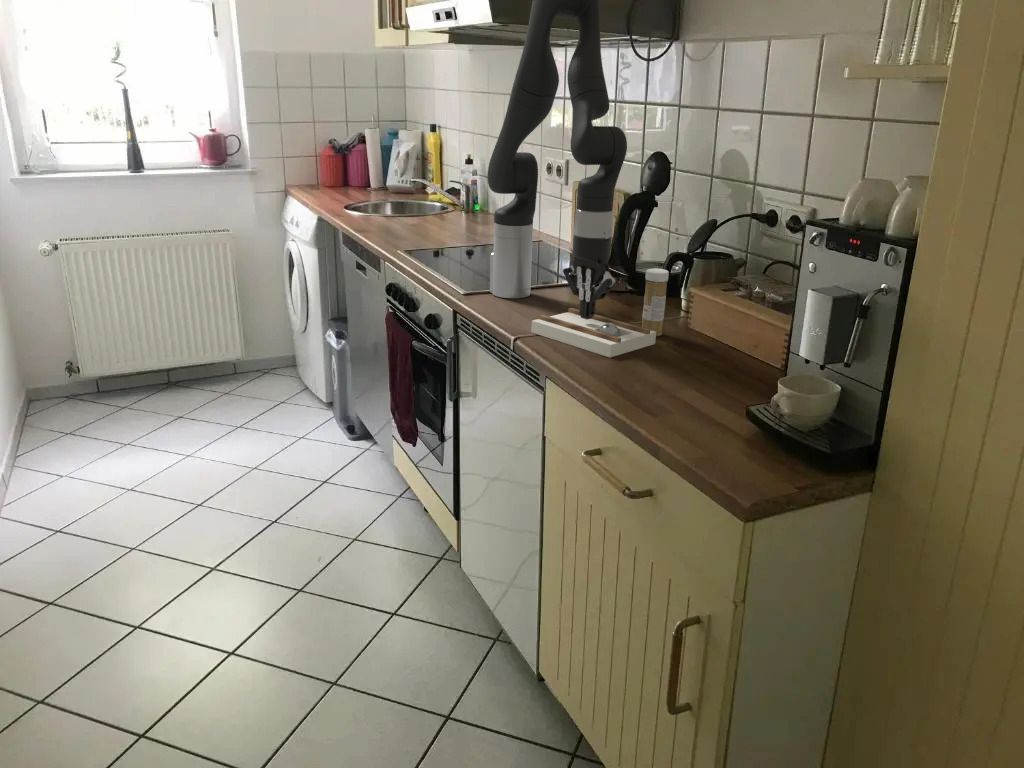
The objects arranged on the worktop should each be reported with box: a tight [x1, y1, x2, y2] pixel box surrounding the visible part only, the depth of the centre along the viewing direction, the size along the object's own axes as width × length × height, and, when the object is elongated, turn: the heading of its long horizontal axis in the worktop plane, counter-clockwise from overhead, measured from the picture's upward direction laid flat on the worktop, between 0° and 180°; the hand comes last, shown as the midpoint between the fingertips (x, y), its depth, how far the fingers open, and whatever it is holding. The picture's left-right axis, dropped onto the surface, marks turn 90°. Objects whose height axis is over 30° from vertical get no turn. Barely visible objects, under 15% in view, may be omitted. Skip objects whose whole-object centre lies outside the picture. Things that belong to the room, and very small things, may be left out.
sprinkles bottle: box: [641, 267, 670, 337], centre depth 166 cm, size 5×5×13 cm
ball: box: [599, 323, 619, 337], centre depth 161 cm, size 4×4×4 cm
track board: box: [530, 307, 657, 358], centre depth 164 cm, size 21×14×3 cm, turn 44°
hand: (586, 318), depth 164 cm, fingers closed
